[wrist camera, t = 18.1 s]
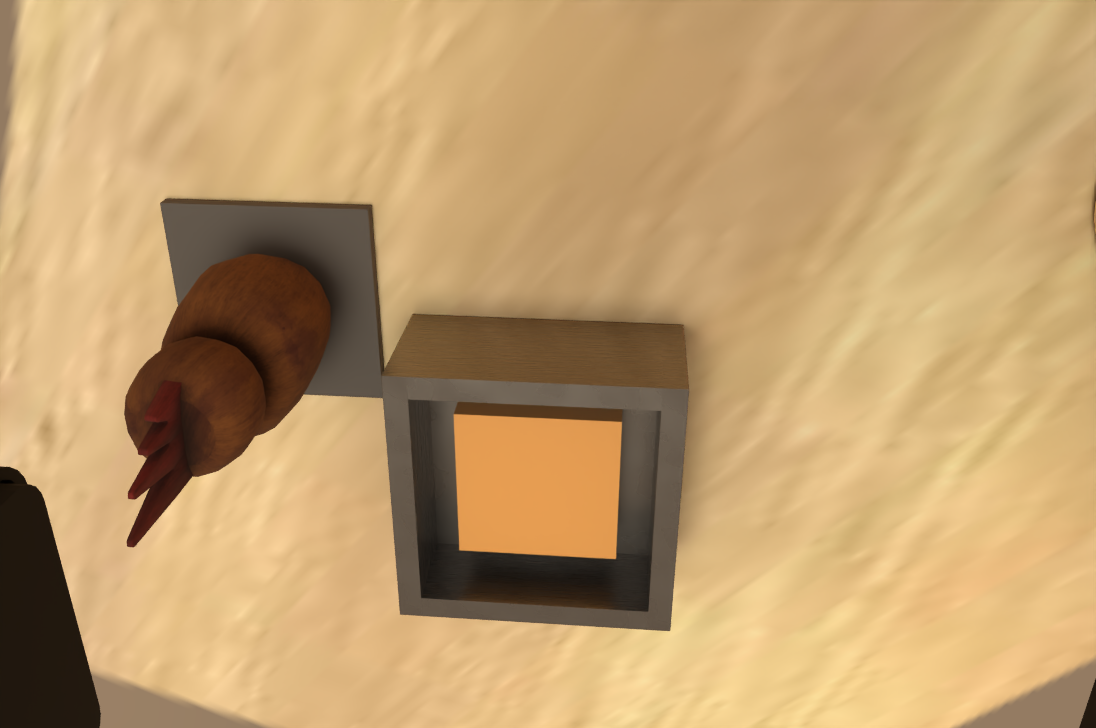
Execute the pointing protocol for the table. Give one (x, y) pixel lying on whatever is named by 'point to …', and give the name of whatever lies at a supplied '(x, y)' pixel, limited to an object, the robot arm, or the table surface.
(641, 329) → the box
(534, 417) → the button
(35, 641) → the robot arm
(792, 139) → the table surface
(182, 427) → the wooden figurine
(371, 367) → the mat
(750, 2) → the table surface
